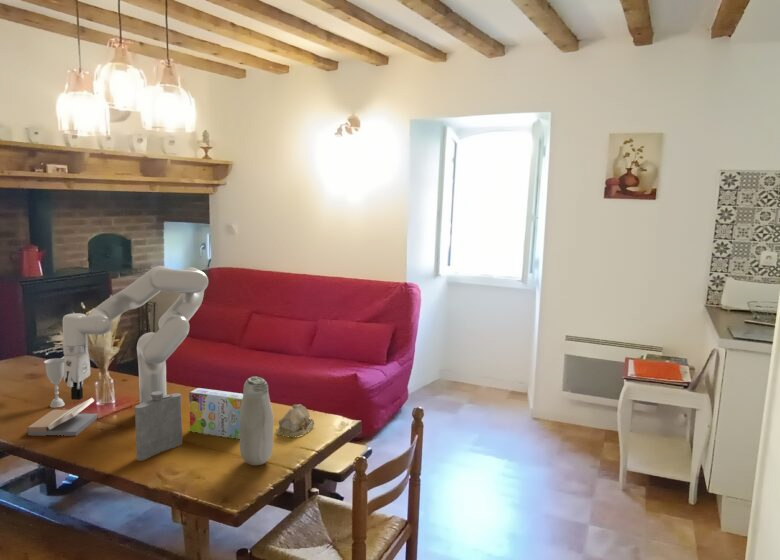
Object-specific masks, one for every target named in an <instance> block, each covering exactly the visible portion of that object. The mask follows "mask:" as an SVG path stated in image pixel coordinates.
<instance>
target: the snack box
mask: <svg viewBox="0 0 780 560" xmlns="http://www.w3.org/2000/svg"><path fill="white" fill-rule="evenodd" d="M242 400H243V393H241V392H240V393H239V392H232V391H224V390H218V389H209V388H203V387H202V388H201V387H197V388H195V389H193V390H192V391H189V432H190V431H192V432H191V433H195V432H198V433H197V434H202V433H204V434H203V435H208V434H211V435H210V436H214V435H217V436H216V437H220V436H222V437H221V438H227V437H229V438H228V439H233V438H236V439H235V440H239V439H240V432H239V414H240V409H241V404H242Z"/></svg>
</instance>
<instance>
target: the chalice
mask: <svg viewBox="0 0 780 560" xmlns="http://www.w3.org/2000/svg"><path fill="white" fill-rule="evenodd" d="M43 363H44V364H45V373H46V376H47V378H48V380H49V381H50V382H51V384H52V385H54V388H53V390H54V393H53V394H54V395H55V397H54V399H52V400H51V402H50V405H49V407H50V408H52V409H53V408H54V409H56V408H60V407H63V406H65V405H66V403H65V402H64V400H63V398H60V397H59V394H60V391H59V384H60V383H61V381H62V379H64V358H59V357H58V358H49V359H47V360H44V361H43Z"/></svg>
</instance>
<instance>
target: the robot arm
mask: <svg viewBox="0 0 780 560" xmlns="http://www.w3.org/2000/svg"><path fill="white" fill-rule="evenodd" d="M208 286H209V277H208V276H207V274H206V273H205V272H204V271H202V270H200V269H198V268H196V267H193V266H192V267H186V268H184V269H173V268H168V267H167V266H163V265H157V266H154V267H152V268H151V269H149V270H148V271H146V273H144V274H143V275H141V276H140V277H138V278H137V279H136V280H135V281H133V282H132V283H131V284H128V286H126V287H125V288H124V289H122V290H120V291H118V292H117V293H115V294H114V295H112V296H110V297H108V298H107V299H105V300H104V301H103V302H101V303H100V304H98V305H97V306H96V307H95V308H93V309H92V310H91V311H90V312H89V313H88V314H84V313H79V312H77V313H75V312H74V313H68V314H65V315H63V318H62V345H63V346H62V347H63V348H62V349H63V355H64V358H63V359H64V375H63V381H64V383H66V388H70V390H71V391H70V392H71V393H70V395H71V398H70V399H71V400H75V401H77V400H78V401H79V400H80V401H81V399H83V398H84V395H83V394H84V390H83V387H84V380H86V379H87V378H88V377H90V376H91V363H90V362H91V361H90V355H89V342H88V341H89V338H88V336H89V335H93V336H101V335H106V334H108V333H109V332H110V331H111V330H112V328H113V320H115V319H116V318H117V317H119V316H121V315H122V314H124V313H125V312H127V311H129V310H134V309H137V308H140V307H143V306H144V305H145V304H146V303H147V302H149V301H150V300H152V298H154V297H155V296H157V295H158V294H159V293H161V292H164V293H179V296H178V297H177V298H176V299H175V301H174V302H173V303H172V305H171V306H169V308H168V309H167V310H166V311H165V312H164V313H163V314H162V315H161V317H160V318H159V319H158V328H159V329H158V330H157V331H156V332H154V331H151V332H146V333H144V334H143V335H141V336H140V337H139V338H138V341H137V344H136V354H137V363H138V367H137V368H138V386H139V387H138V388H139V389H138V390H139V391H138V392H139V404H141V403H144V402H146V401H149V400H152V396H151V393H152V392H155V391H162V392H163V395H162V396H164V395H168V394H167V363H166V362H167V360H168V359H169V358H170V356H172V355H173V353H174V352H175V351H176V350H177V349H178V347H179V346H180V345H181V344H182V343H183V342H184V340H185V339H186V338H187V336H188V335H189V332H190V322H189V321H190V320H191V318H192V317H194V315H195V313H196V312H197V311H198V310H199V308H200V307H201V305H202V303H203V300H204V297H205V296H204V295H205V290H206V289H207V288H208Z"/></svg>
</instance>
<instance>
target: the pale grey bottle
mask: <svg viewBox="0 0 780 560" xmlns="http://www.w3.org/2000/svg"><path fill="white" fill-rule="evenodd" d="M242 389H243V392H242V394H243V400H242V404H241V409H240V414H239V432H240V440H239V452H240V455H241V457H242V459H243V461H244V462H245V463H246V464H249V465H251V466H261V465H264V464H265V463H267V462H268V461H269V459H270V458H271V456H272V453H273V448H274V411H273V407H272V402H271V399H270V393H269V384H268V382H267V381H266V379H264V378H263V377H259V376H251V377H249V378H247V379H246V380H245V382H244V384H243V388H242Z"/></svg>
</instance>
